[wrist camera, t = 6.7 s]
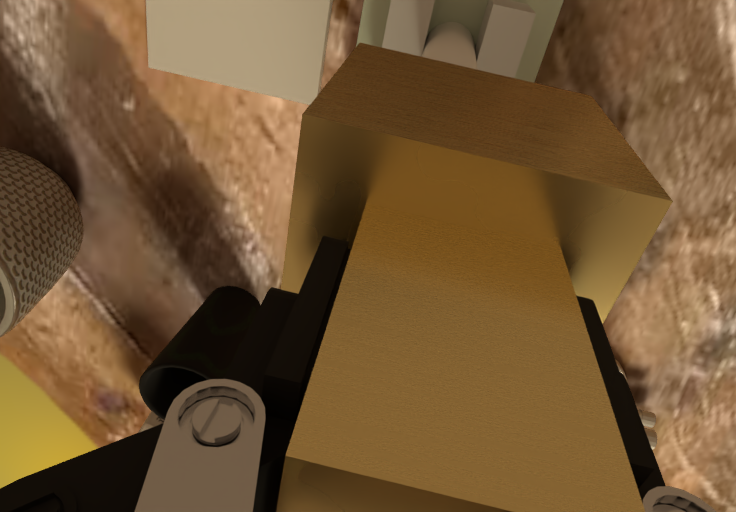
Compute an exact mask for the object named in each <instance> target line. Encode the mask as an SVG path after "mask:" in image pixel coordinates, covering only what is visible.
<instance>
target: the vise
mask: <svg viewBox="0 0 736 512" xmlns="http://www.w3.org/2000/svg"><path fill="white" fill-rule="evenodd" d="M563 1H564V0H364V3H363V9H362V15H361V20H360V26H359V32H358V38H357V44H356V47H357V45H358V44H359V43H365V44H369V45H373V46H377V47H382V48H386V49H390V50H395V51H399V52H403V53H408V54H412V55H416V56H421V57H425V58H429V59H434V60H438V61H442V62H447V63H451V64H455V65H459V66H464V67H468V68H472V69H477V70H481V71H485V72H490V73H494V74H498V75H503V76H507V77H511V78H516V79H520V80H524V81H528V82H533V83H534V82H535V79H536V76H537V73H538V71H539V68H540V65H541V62H542V59H543V57H544V54H545V51H546V48H547V46H548V43H549V40H550V37H551V34H552V32H553V29H554V26H555V23H556V20H557V18H558V15H559V12H560V9H561V7H562V4H563Z"/></svg>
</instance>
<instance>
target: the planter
mask: <svg viewBox="0 0 736 512" xmlns="http://www.w3.org/2000/svg"><path fill="white" fill-rule="evenodd" d="M83 230H84V229H83V220H82V216H81V212H80V209H79V206H78V204H77V202H76V200H75V198H74V196H73V194H72V192H71V190H70V188H69V187H68V185H67V184H66V183H65V181H64V180H63V179H62V178H61V177H60V176H59V175H58V174H57V173H55V172H54V171H53V170H51V169H50V168H48V167H47V166H45V165H44V164H42V163H41V162H39V161H38V160H36V159H34V158H32V157H30V156H28V155H26V154H24V153H21V152H19V151H16V150H13V149H9V148H5V147H0V337H2V336H3V335H5V334H6V333H8V332H9V331H11V330H12V329H13V328H14V327H15V326H16V325H17V324H18V323H19V322H20V321H21V320H22V319H23V318H24V317H25V316H26V315H27V314H28V313H29V312H30V311H31V310H32V309H33V308H34V307H35V306H36V304H37V303H38V302H39V301H40V300H41V299H42V298H43V297H44V296H45V295H46V294H47V293H48V292H49V291H50V290H51V289H52V287H53V286H54V285H55V284H56V283H57V281H58V280H59V279H60V278H61V277H62V276H63V274H64V273H65V272H66V271H67V269H68V268H69V267H70V265H71V264H72V262H73V261H74V259H75V257H76V255H77V254H78V252H79V250H80V246H81V243H82V239H83Z"/></svg>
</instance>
